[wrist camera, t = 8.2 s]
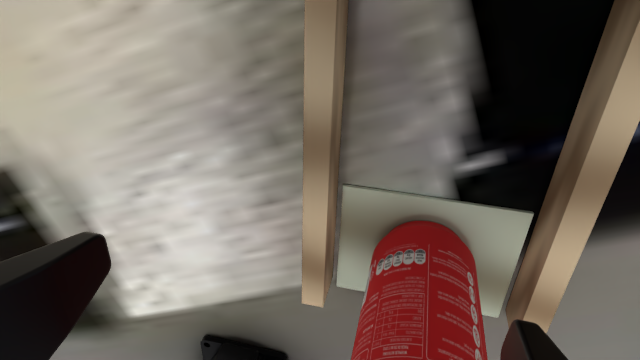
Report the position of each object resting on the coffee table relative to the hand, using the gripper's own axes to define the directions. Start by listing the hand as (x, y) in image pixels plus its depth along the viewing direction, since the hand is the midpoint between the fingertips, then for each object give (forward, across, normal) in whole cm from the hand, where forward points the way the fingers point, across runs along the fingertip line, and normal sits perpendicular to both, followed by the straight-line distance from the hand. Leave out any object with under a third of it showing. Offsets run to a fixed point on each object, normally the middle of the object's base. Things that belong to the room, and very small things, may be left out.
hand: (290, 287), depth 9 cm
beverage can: (+12, -4, +8) cm, 15 cm away
